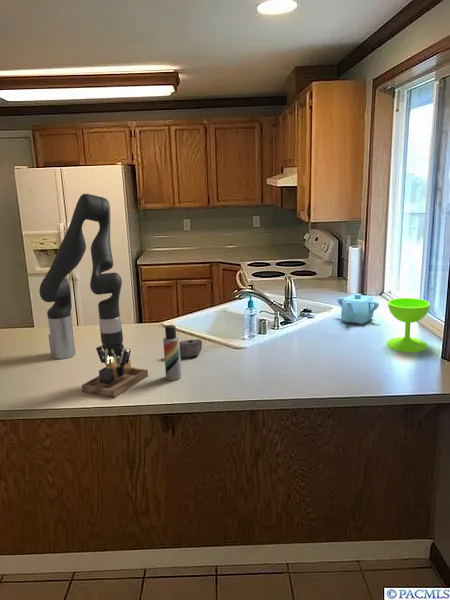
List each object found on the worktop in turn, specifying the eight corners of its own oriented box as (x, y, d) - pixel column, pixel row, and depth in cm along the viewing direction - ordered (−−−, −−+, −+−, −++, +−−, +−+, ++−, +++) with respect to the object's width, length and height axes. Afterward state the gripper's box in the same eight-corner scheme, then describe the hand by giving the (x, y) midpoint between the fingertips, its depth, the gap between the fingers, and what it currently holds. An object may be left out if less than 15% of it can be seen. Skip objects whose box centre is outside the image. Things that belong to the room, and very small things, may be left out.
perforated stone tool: (166, 360, 204) (164, 344, 203) (166, 356, 210) (164, 340, 208) (203, 357, 206) (202, 341, 204) (202, 353, 211) (201, 337, 209)
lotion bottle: (166, 375, 190) (162, 323, 185) (181, 374, 190) (178, 322, 185) (165, 381, 184) (161, 328, 179) (181, 380, 185) (178, 327, 180)
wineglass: (384, 338, 219) (386, 297, 214) (424, 339, 215) (426, 298, 211) (388, 351, 204) (390, 307, 199) (431, 352, 200) (433, 308, 196)
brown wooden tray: (82, 391, 178) (81, 385, 178) (117, 371, 196) (116, 365, 195) (114, 397, 172) (114, 391, 172) (148, 376, 190) (147, 369, 189)
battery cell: (100, 382, 179) (98, 370, 178) (123, 368, 191) (122, 357, 190) (109, 384, 177) (107, 372, 176) (132, 370, 189) (131, 358, 188)
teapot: (335, 317, 252) (335, 291, 249) (368, 315, 253) (369, 289, 250) (346, 328, 235) (346, 300, 231) (381, 326, 235) (382, 298, 232)
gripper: (134, 327, 179) (138, 373, 184) (101, 324, 185) (106, 368, 190) (121, 334, 173) (125, 381, 177) (87, 330, 179) (93, 376, 183)
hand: (115, 374), depth 183 cm, fingers closed on battery cell, 4 cm apart
